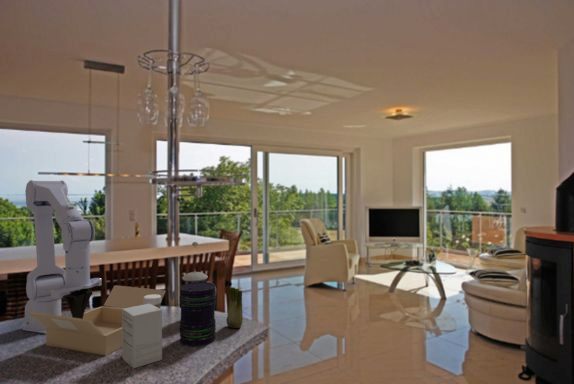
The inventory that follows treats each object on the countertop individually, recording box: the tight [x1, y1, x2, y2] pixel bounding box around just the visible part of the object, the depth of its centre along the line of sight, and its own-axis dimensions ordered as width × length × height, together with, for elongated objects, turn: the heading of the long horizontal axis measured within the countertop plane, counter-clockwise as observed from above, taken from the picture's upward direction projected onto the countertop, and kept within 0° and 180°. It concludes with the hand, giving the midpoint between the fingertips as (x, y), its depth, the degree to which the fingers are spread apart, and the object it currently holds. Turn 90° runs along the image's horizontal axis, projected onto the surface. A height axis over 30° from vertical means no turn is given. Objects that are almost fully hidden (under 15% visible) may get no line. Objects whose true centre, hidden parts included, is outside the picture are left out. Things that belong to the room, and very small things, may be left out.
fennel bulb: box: [226, 286, 244, 329], centre depth 125 cm, size 6×5×12 cm
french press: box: [178, 241, 217, 323], centre depth 132 cm, size 10×12×25 cm
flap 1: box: [29, 312, 104, 337], centre depth 104 cm, size 19×7×1 cm
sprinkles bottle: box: [143, 294, 162, 309], centre depth 110 cm, size 5×5×14 cm
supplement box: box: [121, 304, 163, 369], centre depth 101 cm, size 7×7×13 cm
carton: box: [45, 305, 123, 356], centre depth 116 cm, size 20×20×5 cm
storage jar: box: [178, 281, 217, 348], centre depth 115 cm, size 10×10×15 cm
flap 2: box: [103, 284, 166, 309], centre depth 128 cm, size 19×7×1 cm
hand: (77, 319), depth 108 cm, fingers closed
